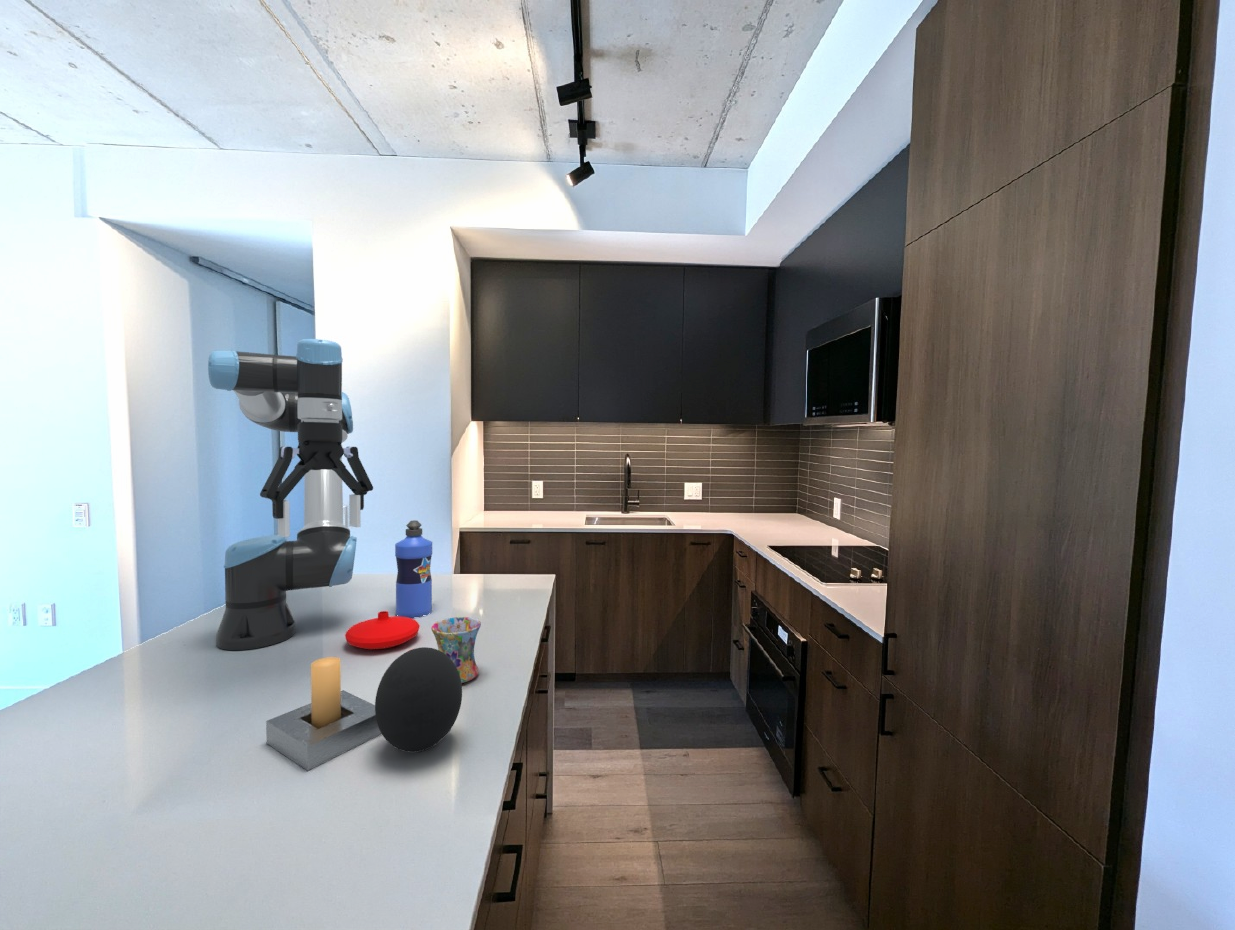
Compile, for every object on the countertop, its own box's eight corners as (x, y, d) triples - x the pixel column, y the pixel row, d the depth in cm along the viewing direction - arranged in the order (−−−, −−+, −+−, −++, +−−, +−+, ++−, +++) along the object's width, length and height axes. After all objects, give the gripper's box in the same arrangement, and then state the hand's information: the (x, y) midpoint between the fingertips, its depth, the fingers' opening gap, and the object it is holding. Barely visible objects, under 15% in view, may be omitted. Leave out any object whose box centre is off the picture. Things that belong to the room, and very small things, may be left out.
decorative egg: (398, 723, 86) (397, 633, 85) (472, 725, 85) (472, 635, 85) (358, 770, 74) (357, 666, 73) (445, 773, 73) (445, 668, 73)
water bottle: (439, 609, 144) (439, 519, 143) (416, 620, 135) (416, 524, 134) (412, 605, 147) (411, 517, 146) (387, 615, 138) (387, 522, 137)
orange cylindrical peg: (306, 739, 81) (305, 663, 80) (332, 727, 84) (331, 654, 84) (320, 747, 79) (319, 670, 78) (346, 735, 82) (345, 660, 82)
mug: (484, 683, 100) (484, 629, 100) (433, 692, 97) (433, 635, 96) (475, 659, 111) (475, 610, 111) (429, 666, 108) (429, 615, 107)
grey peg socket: (266, 743, 80) (266, 720, 80) (343, 709, 90) (343, 690, 90) (307, 770, 73) (307, 746, 73) (385, 731, 83) (385, 710, 83)
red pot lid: (328, 649, 116) (328, 618, 116) (384, 626, 130) (384, 598, 130) (382, 661, 110) (381, 628, 110) (434, 636, 124) (434, 607, 124)
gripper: (257, 418, 88) (258, 543, 89) (390, 424, 109) (391, 524, 110) (237, 418, 92) (238, 538, 93) (369, 424, 113) (370, 521, 114)
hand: (321, 531), depth 101 cm, fingers open, 13 cm apart
